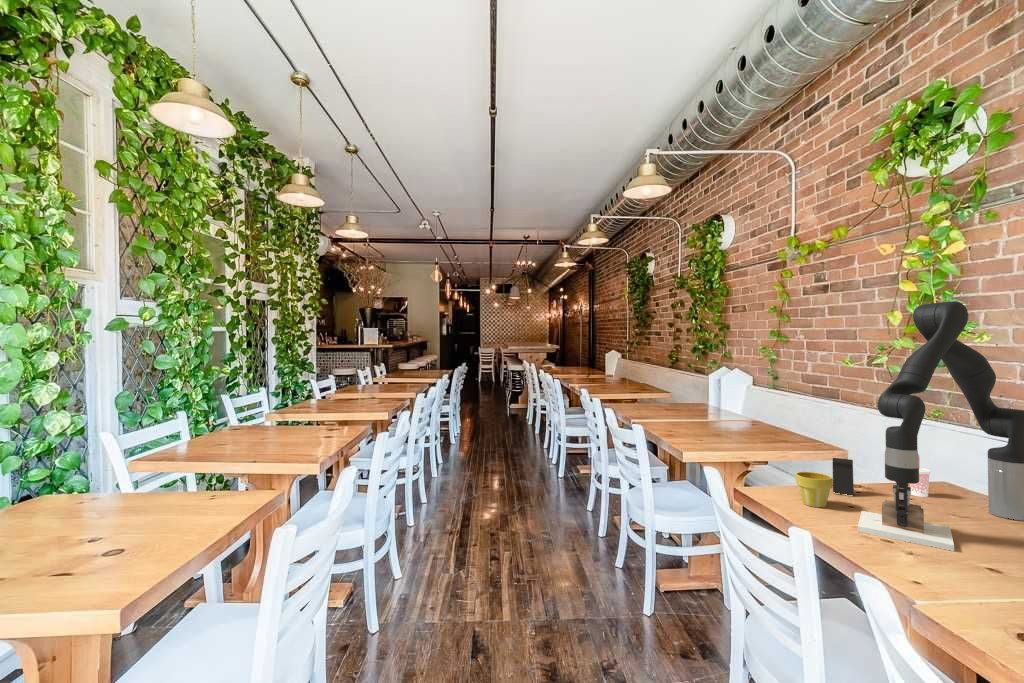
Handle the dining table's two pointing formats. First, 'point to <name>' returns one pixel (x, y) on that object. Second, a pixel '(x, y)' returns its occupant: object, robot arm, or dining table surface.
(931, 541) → the board
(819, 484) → the plant pot
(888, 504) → the block
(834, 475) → the phone stand
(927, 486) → the beverage cup
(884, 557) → the dining table surface
